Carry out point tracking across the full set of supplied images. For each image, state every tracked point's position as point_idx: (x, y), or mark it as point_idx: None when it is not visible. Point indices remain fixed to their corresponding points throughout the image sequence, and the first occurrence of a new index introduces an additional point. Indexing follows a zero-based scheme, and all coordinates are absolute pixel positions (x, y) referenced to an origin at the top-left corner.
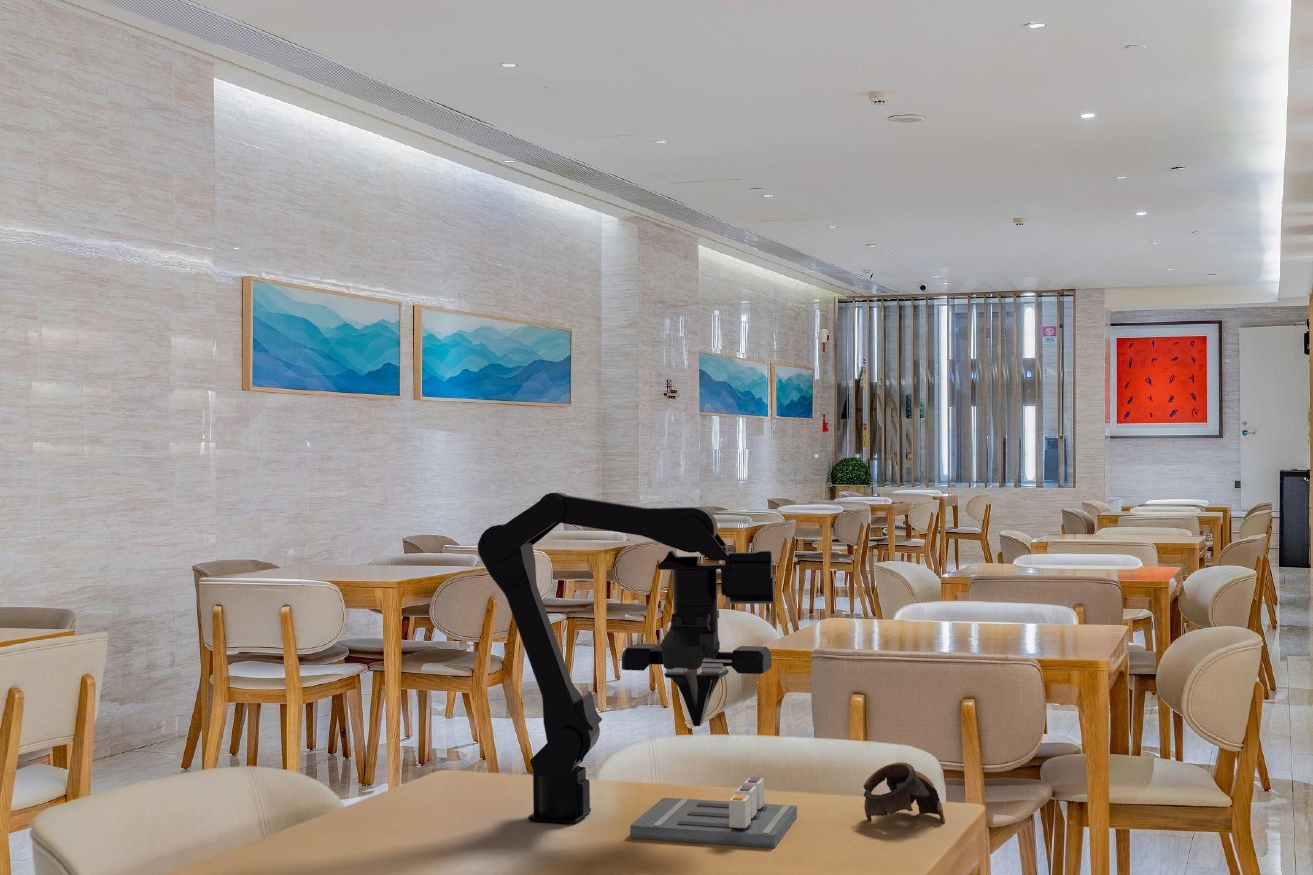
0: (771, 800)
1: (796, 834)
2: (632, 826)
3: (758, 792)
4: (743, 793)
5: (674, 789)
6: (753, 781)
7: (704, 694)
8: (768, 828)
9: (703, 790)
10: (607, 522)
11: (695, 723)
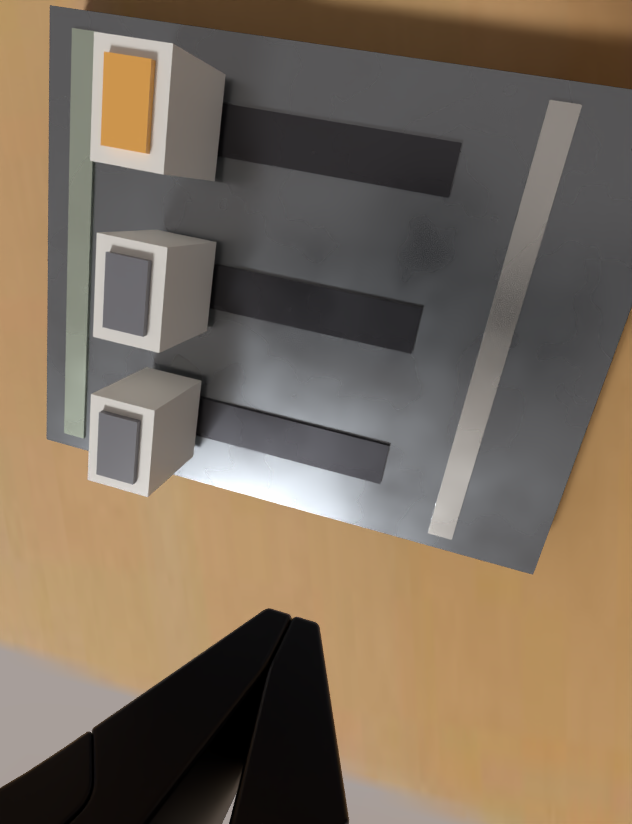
0: (171, 616)
1: (42, 221)
2: None
3: (117, 385)
4: (137, 240)
5: (490, 775)
6: (115, 414)
7: (18, 810)
8: (83, 99)
9: (390, 749)
10: None
11: (295, 622)
